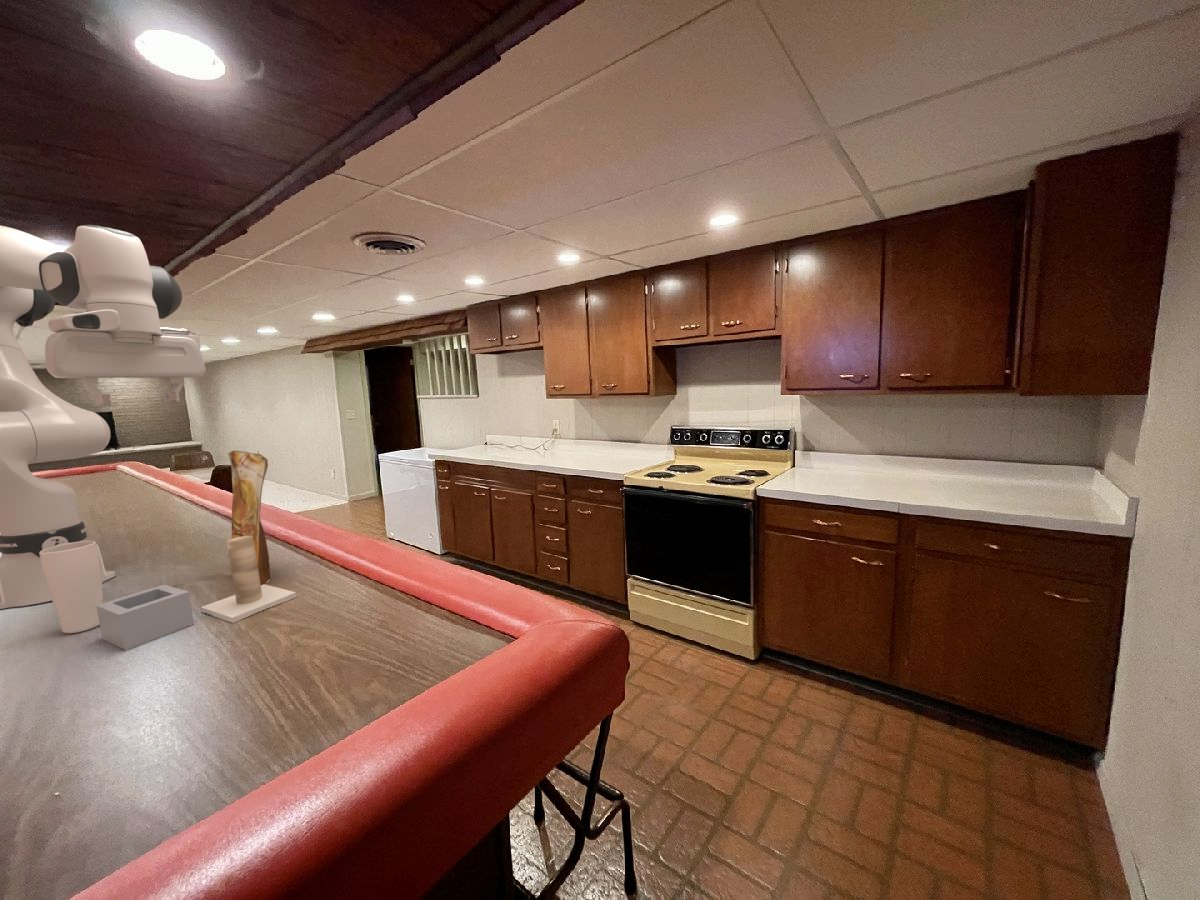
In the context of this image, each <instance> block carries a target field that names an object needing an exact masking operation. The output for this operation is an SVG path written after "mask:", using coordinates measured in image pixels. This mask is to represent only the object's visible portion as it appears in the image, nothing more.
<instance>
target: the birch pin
mask: <svg viewBox="0 0 1200 900" xmlns="http://www.w3.org/2000/svg"><path fill="white" fill-rule="evenodd" d="M226 547H227V552H228V558H229V565H230V570H231V572H230V573H231V578H232V582H233V583H232V584H233V589H234V590H233V591H234V595H235V597H236V603H237V604H248V603H252V602H255V601H257V600H259V599H261V598H262V591H261V584H260V578H259V571H258V565H257V559H256V552H255V546H254V539H253V536H242V537H237V538H233V539H232V538H231V539H228V540H226Z"/></svg>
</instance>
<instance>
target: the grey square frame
mask: <svg viewBox="0 0 1200 900" xmlns="http://www.w3.org/2000/svg"><path fill="white" fill-rule="evenodd" d="M96 608H97V613H98V618H99V623H100V625H99V627H100V633H101V637H102V640H103V639H104V641H105V640H106V642H108V643H110V644H112V645H114V646H116V647H118V648H120V649H122V650H124V651H127V650H130V649H133V648H136V647H138V646H141V645H143V644H146V643H148V642H151V641H154V640H156V639H159V638H161V637H164V636H167V635H169V634H172V633H175V632H177V631H180V630H182V629H185V628H187V626H188V627H190V626H193V625H194V624H195V623H194V622H195V621H194V616H193V611H192V610H193V609H192V605H191V598H190V591H187V590H184V589H181V588H177V587H173V586H172V585H171V586H170V585H167V584H161V585H159V586H155V587H152V588H148V589H145V590H142V591H139V592H135V593H132V594H128V595H126V596H122V597H119V598H115V599H113V600H110V601H109V600H108V601H106V602H103V603H102V604H99V605H96ZM192 624H193V625H192ZM135 646H136V647H135Z"/></svg>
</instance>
